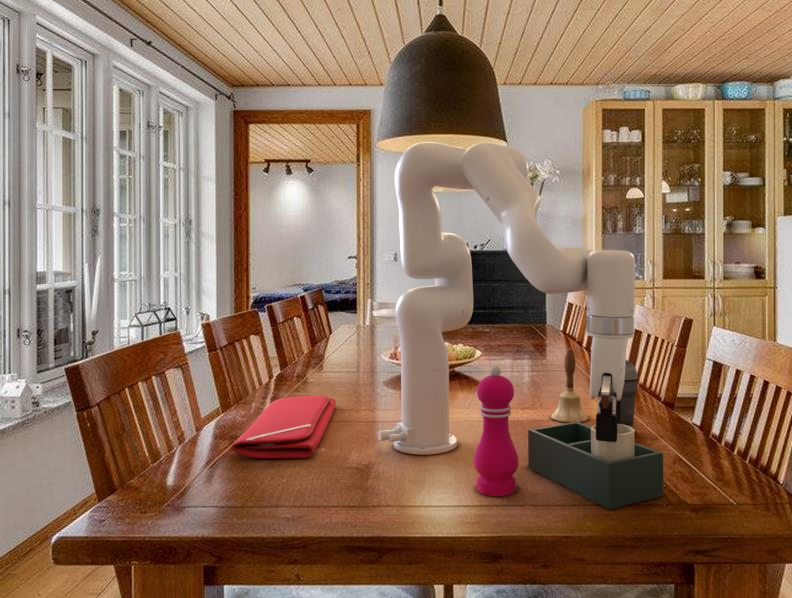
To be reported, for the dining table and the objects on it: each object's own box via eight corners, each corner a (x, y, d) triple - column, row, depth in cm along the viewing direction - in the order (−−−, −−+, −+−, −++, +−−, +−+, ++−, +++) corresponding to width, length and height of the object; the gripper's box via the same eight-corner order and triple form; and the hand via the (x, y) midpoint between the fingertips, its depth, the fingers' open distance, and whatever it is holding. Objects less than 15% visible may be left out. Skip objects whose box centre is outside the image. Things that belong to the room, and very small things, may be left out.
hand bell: (593, 416, 153) (592, 347, 153) (579, 424, 146) (579, 352, 146) (560, 412, 157) (559, 344, 157) (545, 419, 150) (544, 349, 150)
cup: (611, 495, 101) (610, 436, 102) (582, 481, 107) (582, 426, 108) (644, 487, 105) (643, 431, 105) (615, 474, 111) (614, 421, 111)
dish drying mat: (337, 406, 164) (337, 391, 164) (315, 458, 123) (315, 438, 123) (273, 408, 163) (273, 393, 163) (229, 461, 122) (229, 441, 122)
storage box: (609, 509, 99) (608, 463, 99) (528, 467, 117) (528, 429, 118) (663, 496, 104) (663, 452, 104) (577, 458, 123) (577, 421, 123)
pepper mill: (505, 501, 102) (504, 371, 102) (465, 492, 106) (464, 367, 106) (526, 486, 108) (525, 364, 108) (487, 478, 112) (486, 360, 112)
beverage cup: (640, 438, 135) (639, 340, 135) (603, 436, 136) (602, 340, 136) (637, 429, 142) (636, 336, 142) (603, 427, 143) (602, 335, 144)
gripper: (591, 319, 116) (590, 416, 116) (580, 332, 99) (579, 445, 99) (635, 321, 114) (634, 420, 114) (632, 335, 97) (630, 451, 97)
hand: (608, 432), depth 107 cm, fingers open, 9 cm apart
